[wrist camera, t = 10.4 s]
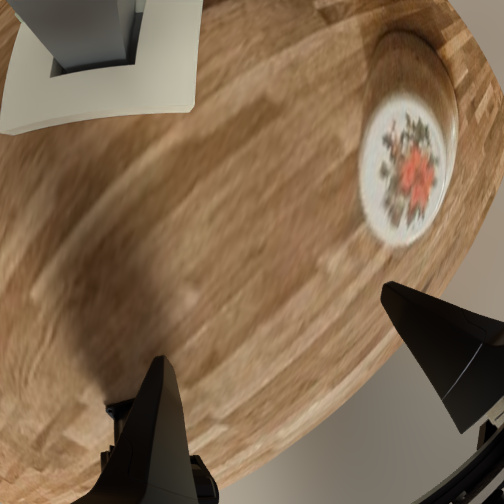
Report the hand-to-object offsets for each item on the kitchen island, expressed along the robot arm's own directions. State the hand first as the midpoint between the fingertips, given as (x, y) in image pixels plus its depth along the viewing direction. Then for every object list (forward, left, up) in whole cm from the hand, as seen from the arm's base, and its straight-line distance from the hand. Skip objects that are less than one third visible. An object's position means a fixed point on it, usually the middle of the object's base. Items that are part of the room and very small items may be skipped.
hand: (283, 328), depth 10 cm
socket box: (-4, +19, -12) cm, 23 cm away
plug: (-4, +17, -12) cm, 22 cm away
